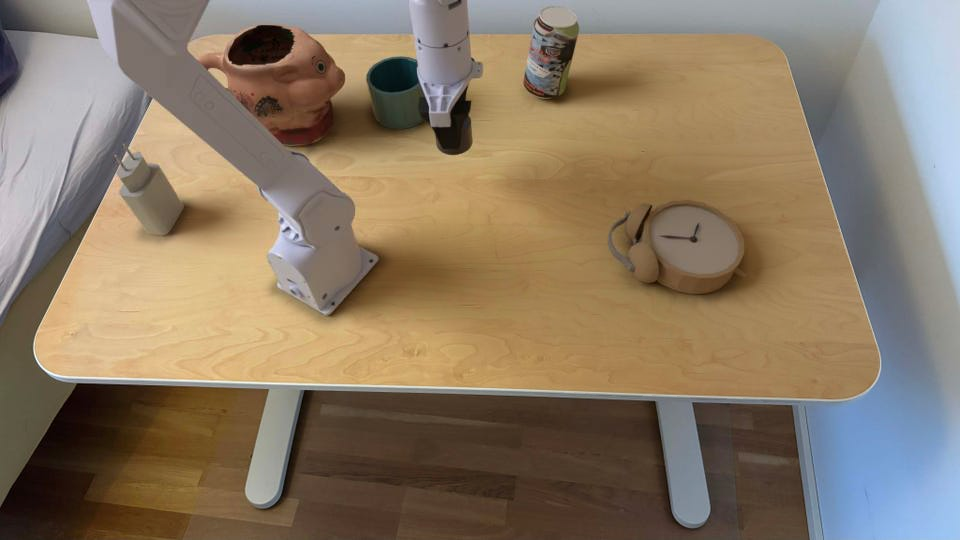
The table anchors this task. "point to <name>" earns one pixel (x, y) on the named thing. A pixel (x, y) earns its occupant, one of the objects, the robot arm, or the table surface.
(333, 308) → the robot arm
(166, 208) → the power adapter
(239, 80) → the decorative planter
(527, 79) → the beverage can
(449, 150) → the tape roll
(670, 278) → the alarm clock
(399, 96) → the cup
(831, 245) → the table surface
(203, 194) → the table surface
